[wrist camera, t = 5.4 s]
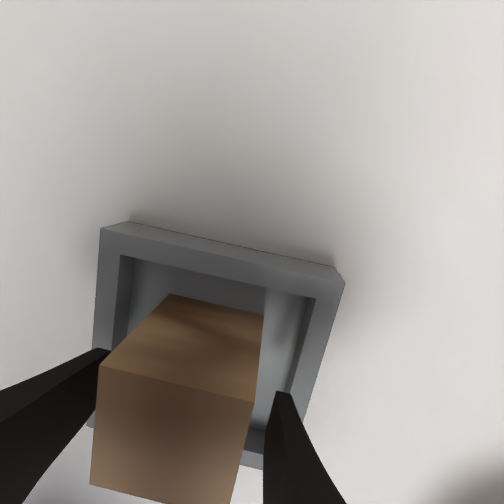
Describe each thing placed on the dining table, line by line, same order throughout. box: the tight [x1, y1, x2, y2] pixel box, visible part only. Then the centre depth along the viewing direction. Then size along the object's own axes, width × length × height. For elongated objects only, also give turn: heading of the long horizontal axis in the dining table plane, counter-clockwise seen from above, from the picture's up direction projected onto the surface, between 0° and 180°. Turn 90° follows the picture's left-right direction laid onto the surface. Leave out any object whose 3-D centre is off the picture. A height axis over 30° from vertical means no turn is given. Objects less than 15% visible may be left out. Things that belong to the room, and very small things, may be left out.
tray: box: [86, 222, 345, 470], centre depth 15 cm, size 11×11×2 cm
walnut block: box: [90, 294, 264, 504], centre depth 12 cm, size 5×5×6 cm
